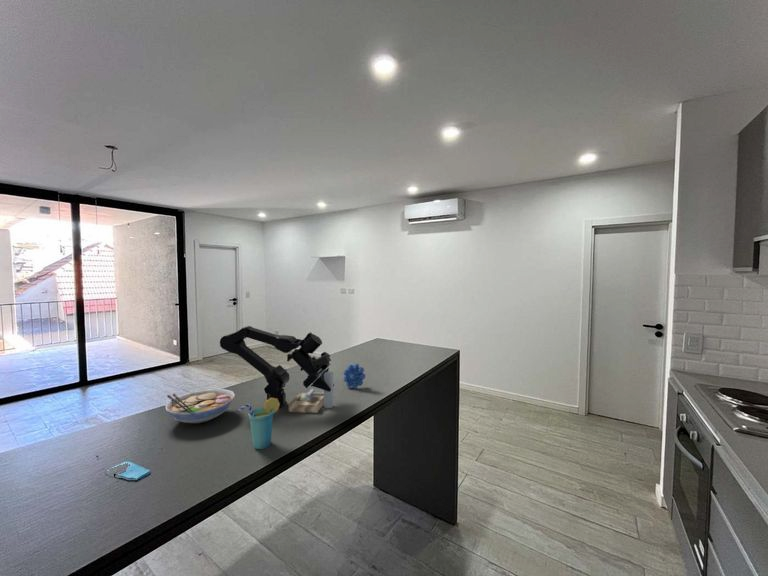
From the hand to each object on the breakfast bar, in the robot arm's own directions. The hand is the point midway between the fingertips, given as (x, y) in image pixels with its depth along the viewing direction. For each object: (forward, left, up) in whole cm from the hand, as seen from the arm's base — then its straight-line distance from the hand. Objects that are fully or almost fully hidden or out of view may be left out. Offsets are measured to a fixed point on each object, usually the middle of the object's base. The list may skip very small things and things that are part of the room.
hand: (331, 388), depth 130 cm
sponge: (-44, -48, -8) cm, 66 cm away
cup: (-15, -31, -8) cm, 35 cm away
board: (-10, 0, -8) cm, 13 cm away
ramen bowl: (-46, -15, -8) cm, 49 cm away
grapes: (+5, +22, -8) cm, 24 cm away
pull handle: (-5, 0, -7) cm, 9 cm away
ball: (-12, 0, -5) cm, 13 cm away
